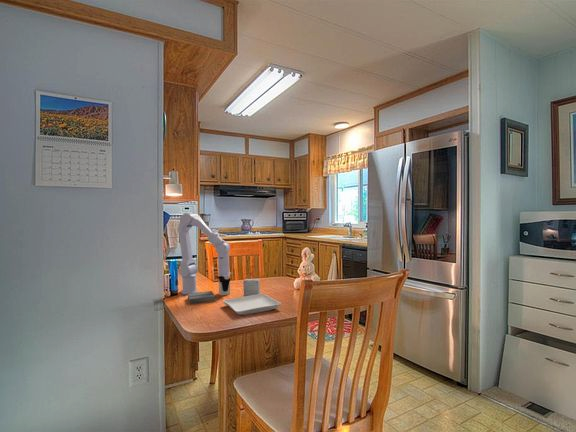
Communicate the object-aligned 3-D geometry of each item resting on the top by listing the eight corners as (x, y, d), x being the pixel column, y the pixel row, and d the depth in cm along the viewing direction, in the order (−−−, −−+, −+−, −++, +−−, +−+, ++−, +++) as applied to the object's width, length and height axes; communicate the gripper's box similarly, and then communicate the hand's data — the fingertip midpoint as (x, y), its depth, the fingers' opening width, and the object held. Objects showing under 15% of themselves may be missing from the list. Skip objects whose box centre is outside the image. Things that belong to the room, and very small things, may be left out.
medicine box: (260, 295, 169) (259, 278, 169) (258, 297, 165) (258, 280, 165) (245, 295, 170) (245, 278, 170) (243, 297, 166) (243, 280, 165)
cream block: (218, 293, 175) (218, 282, 175) (228, 292, 177) (227, 281, 177) (220, 295, 171) (220, 284, 171) (230, 294, 172) (229, 283, 172)
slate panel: (188, 299, 166) (187, 293, 166) (211, 296, 170) (211, 291, 170) (190, 305, 155) (190, 299, 155) (215, 302, 159) (215, 296, 159)
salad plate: (236, 319, 132) (236, 310, 132) (222, 306, 151) (222, 299, 151) (282, 310, 142) (282, 303, 142) (263, 300, 161) (263, 293, 161)
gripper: (234, 266, 169) (234, 292, 169) (228, 262, 182) (228, 286, 182) (220, 267, 166) (221, 293, 166) (215, 263, 179) (216, 288, 179)
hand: (224, 290), depth 174 cm, fingers closed on cream block, 5 cm apart
